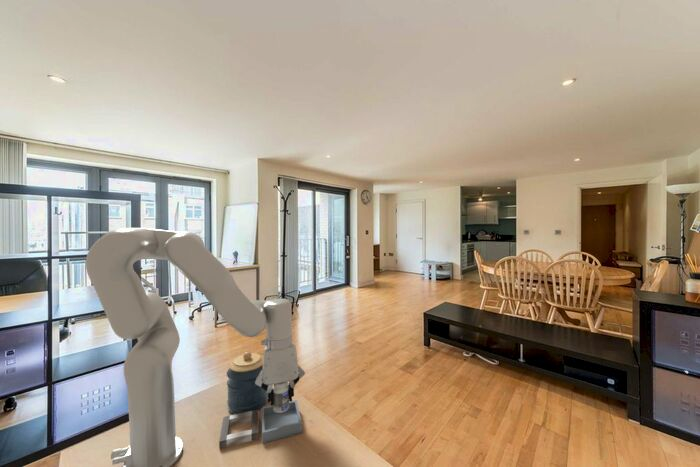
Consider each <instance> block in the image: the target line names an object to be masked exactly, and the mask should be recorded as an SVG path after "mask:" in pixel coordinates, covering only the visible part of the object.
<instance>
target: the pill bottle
mask: <svg viewBox="0 0 700 467" xmlns="http://www.w3.org/2000/svg"><path fill="white" fill-rule="evenodd" d="M288 384H289V381H287V382H282V383H277V384H273V387H272V388H273V410H274V411H275V412H277V413H282V412H285V411H286V410H288V408H289V402H290V401H289V386H288Z"/></svg>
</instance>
